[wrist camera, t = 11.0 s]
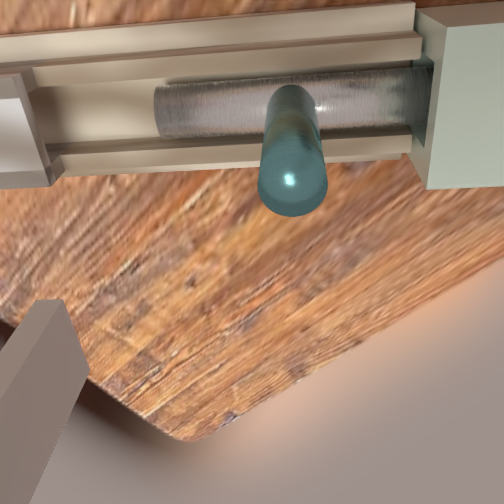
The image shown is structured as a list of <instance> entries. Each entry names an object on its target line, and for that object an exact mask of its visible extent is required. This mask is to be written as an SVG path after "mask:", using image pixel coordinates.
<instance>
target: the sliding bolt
mask: <svg viewBox="0 0 504 504" xmlns="http://www.w3.org/2000/svg"><path fill="white" fill-rule="evenodd" d="M433 73H434V66H425V67H411V68H397V69H383V70H369V71H355V72H341V73H327V74H313V75H299V76H285V77H271V78H257V79H243V80H229V81H215V82H201V83H187V84H173V85H159V86H156V88H155V91H154V115H155V121H156V126H157V129H158V132H159V135H160V136H161V138H162V139H179V138H196V137H212V136H229V135H246V134H262V133H264V136H263V145H262V153H261V161H260V169H259V177H258V192H259V196H260V198H261V200H262V201H263V203H264V204H265V205H266V206H267V207H268V208H269V209H270V210H271V211H273V212H275V213H277V214H279V215H283V216H288V217H296V216H302V215H305V214H307V213H310V212H311V211H313V210H314V209H316V208H317V207H318V206H319V205H320V204H321V202H322V201H323V199H324V198H325V195H326V193H327V187H328V182H327V175H326V168H325V162H324V156H323V150H322V144H321V137H320V131H319V130H329V129H346V128H362V127H379V126H396V125H412V124H427V123H428V114H429V106H430V98H431V89H432V81H433Z"/></svg>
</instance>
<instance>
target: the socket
mask: <svg viewBox="0 0 504 504" xmlns="http://www.w3.org/2000/svg"><path fill="white" fill-rule="evenodd" d="M413 30H414V31H415V32H416V33H418V34H419V35H420V36H422V37H423V38H422V48H421V57H420V59H415V60H410V68H411V67H425V66H434V73H433V81H432V89H431V98H430V106H429V114H428V123H427V124H412V125H407V127H408V129H409V130H410V132H411V133H412V144H411V152H410V153H407V155H408V157H409V159H410V161H411V162H412V164H413V166H414V168H415V170H416V172H417V173H418V175H419V177H420V179H421V181H422V182H423V184H424V186H425V188H426V190H431V189H452V188H474V187H495V186H504V1H499V2H487V3H475V4H463V5H451V6H439V7H427V8H415V15H414V25H413Z"/></svg>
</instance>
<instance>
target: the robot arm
mask: <svg viewBox="0 0 504 504" xmlns="http://www.w3.org/2000/svg"><path fill="white" fill-rule="evenodd" d="M89 372H90V368H89V365H88V363H87V360H86V358H85V355H84V352H83V350H82V347H81V345H80V342H79V340H78V337H77V334H76V332H75V329H74V327H73V324H72V322H71V319H70V316H69V314H68V311H67V309H66V306H65V304H64V301H63V299H57V300H36V301H35V302H34V304H33V305H32V307H31V308H30V310H29V311H28V313H27V314H26V315H25V317H24V318H23V320H22V321H21V323H20V324H19V326H18V327H17V328H16V330H15V331H14V333H13V334H12V336H11V337H10V338H9V340H8V341H7V343H6V344H5V346H4V347H3V349H2V350H1V352H0V504H29V503H30V500H31V498H32V496H33V494H34V492H35V489H36V487H37V485H38V483H39V481H40V479H41V476H42V474H43V472H44V470H45V468H46V466H47V463H48V461H49V459H50V457H51V454H52V452H53V450H54V448H55V446H56V444H57V441H58V439H59V437H60V435H61V433H62V431H63V428H64V426H65V424H66V422H67V420H68V417H69V415H70V413H71V411H72V409H73V407H74V404H75V402H76V400H77V398H78V395H79V393H80V391H81V389H82V387H83V385H84V382H85V380H86V378H87V376H88V374H89Z"/></svg>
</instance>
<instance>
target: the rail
mask: <svg viewBox="0 0 504 504" xmlns="http://www.w3.org/2000/svg"><path fill="white" fill-rule="evenodd" d="M415 4H416V3H415V2H413V1H411V0H406V1H394V2H382V3H371V4H359V5H347V6H335V7H324V8H312V9H300V10H288V11H277V12H265V13H253V14H242V15H230V16H218V17H206V18H195V19H183V20H171V21H159V22H148V23H136V24H124V25H112V26H101V27H89V28H77V29H66V30H54V31H42V32H30V33H19V34H7V35H0V189H17V188H36V187H51V186H52V184H53V183H54V182H55V181H56V180H57V179H58V178H59V177H75V176H94V175H112V174H131V173H150V172H169V171H188V170H207V169H225V168H244V167H260V161H261V153H262V145H263V136H264V133H262V134H246V135H229V136H212V137H196V138H179V139H162V138H161V136H160V135H159V132H158V129H157V126H156V121H155V115H154V91H155V88H156V86H159V85H173V84H187V83H201V82H215V81H229V80H243V79H257V78H271V77H285V76H299V75H313V74H327V73H341V72H355V71H369V70H383V69H397V68H410V60H415V59H420V57H421V48H422V38H423V37H422V36H420V35H419V34H418V33H416V32H415V31H414V30H413V25H414V15H415ZM319 131H320V137H321V144H322V150H323V156H324V162H325V163H338V162H357V161H376V160H395V159H401V154H402V153H410V152H411V144H412V133H411V132H410V130H409V129H408V127H407V125H396V126H379V127H362V128H346V129H329V130H319Z"/></svg>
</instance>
